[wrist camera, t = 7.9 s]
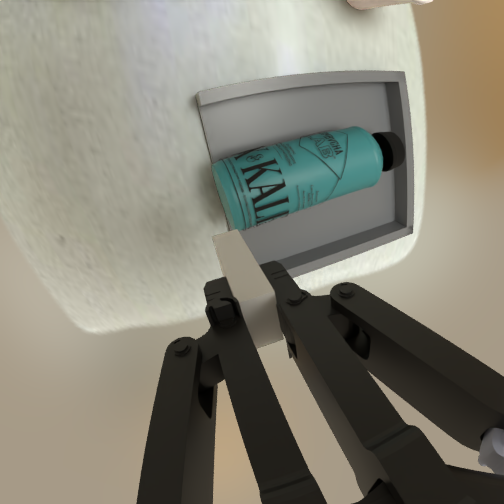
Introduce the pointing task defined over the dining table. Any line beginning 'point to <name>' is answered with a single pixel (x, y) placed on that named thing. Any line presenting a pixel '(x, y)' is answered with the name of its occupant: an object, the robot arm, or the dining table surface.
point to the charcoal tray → (309, 122)
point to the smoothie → (381, 3)
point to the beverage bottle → (302, 173)
